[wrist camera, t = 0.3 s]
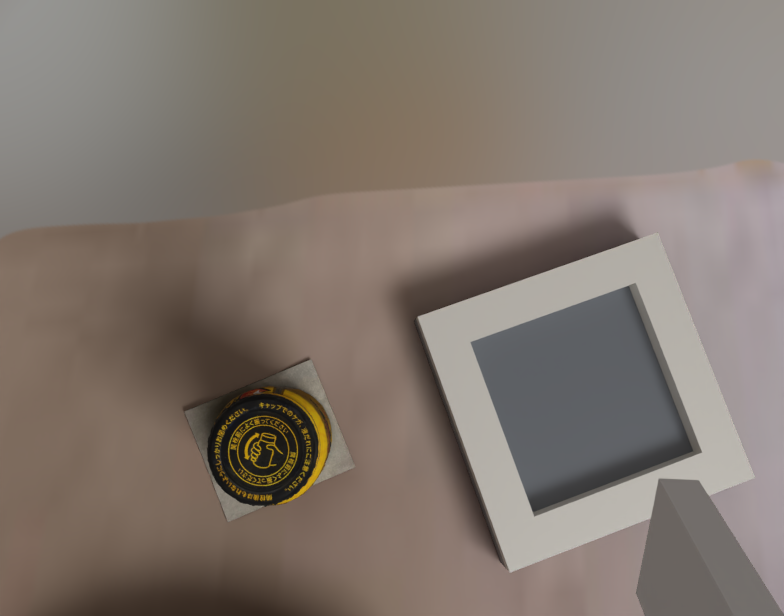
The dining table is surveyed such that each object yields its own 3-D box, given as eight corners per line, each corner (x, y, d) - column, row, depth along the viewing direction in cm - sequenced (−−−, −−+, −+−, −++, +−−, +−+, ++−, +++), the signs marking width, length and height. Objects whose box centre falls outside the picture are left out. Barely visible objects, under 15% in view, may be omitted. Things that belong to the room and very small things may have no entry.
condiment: (355, 466, 47) (356, 490, 35) (228, 521, 46) (185, 565, 34) (311, 359, 48) (297, 347, 36) (185, 411, 47) (128, 416, 35)
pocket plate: (732, 473, 48) (755, 477, 45) (500, 562, 47) (509, 572, 44) (641, 241, 50) (657, 232, 47) (413, 321, 48) (417, 316, 46)
